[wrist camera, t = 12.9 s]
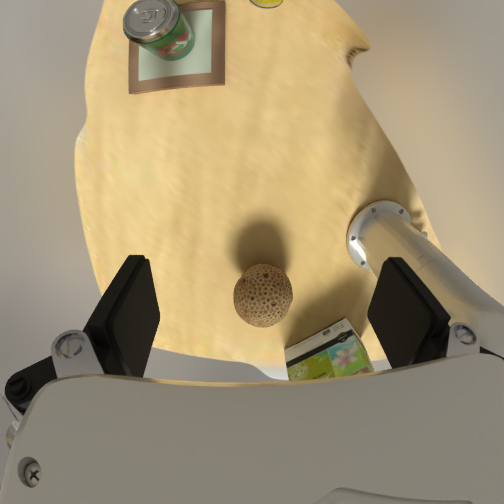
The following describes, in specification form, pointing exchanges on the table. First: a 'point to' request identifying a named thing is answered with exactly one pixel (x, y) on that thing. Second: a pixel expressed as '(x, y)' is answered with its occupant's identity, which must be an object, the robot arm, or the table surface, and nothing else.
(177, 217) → the table surface
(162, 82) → the walnut picture frame
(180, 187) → the table surface
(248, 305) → the natural sponge
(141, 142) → the table surface
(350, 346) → the tea box
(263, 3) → the supplement bottle
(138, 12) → the soda can
